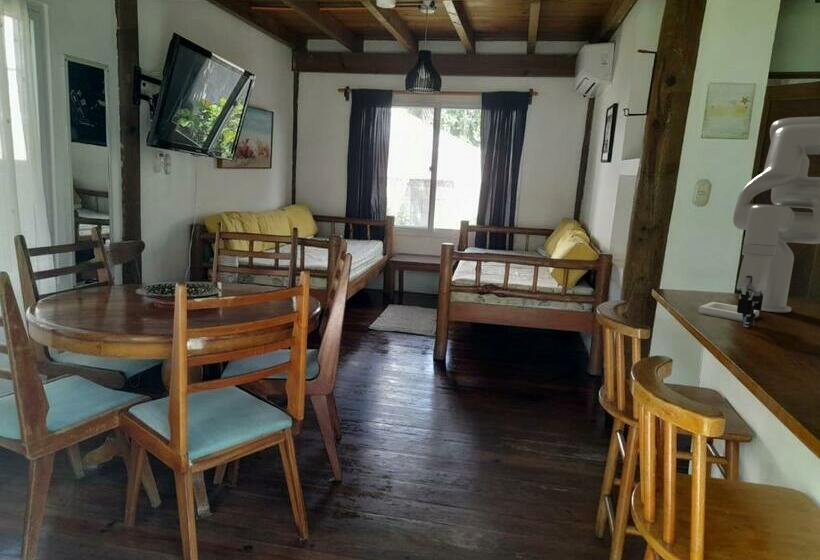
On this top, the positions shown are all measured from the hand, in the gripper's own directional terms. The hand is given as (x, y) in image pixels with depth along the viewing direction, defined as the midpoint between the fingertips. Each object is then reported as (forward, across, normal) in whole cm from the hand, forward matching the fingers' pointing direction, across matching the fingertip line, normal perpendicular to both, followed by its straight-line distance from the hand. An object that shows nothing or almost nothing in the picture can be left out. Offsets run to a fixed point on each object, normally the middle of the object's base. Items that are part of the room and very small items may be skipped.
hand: (748, 311), depth 147 cm
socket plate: (+4, -12, -8) cm, 15 cm away
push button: (+4, 0, 0) cm, 5 cm away
